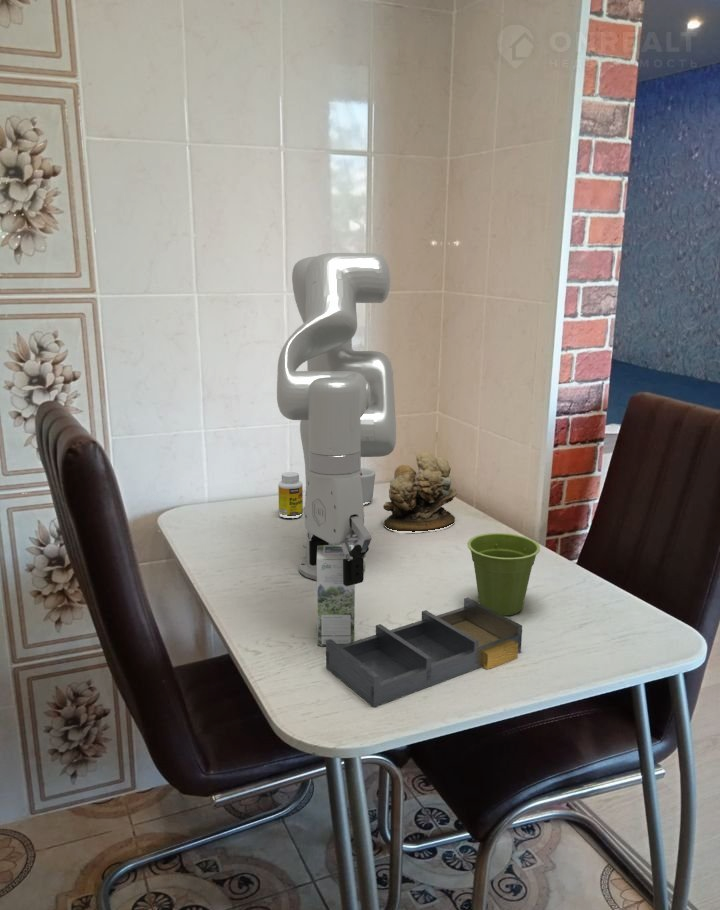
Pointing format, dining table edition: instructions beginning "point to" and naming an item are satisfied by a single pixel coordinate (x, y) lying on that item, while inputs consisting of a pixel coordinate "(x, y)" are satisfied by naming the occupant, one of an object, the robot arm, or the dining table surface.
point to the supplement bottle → (290, 494)
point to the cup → (367, 483)
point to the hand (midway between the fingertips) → (335, 573)
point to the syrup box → (334, 597)
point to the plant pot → (502, 569)
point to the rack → (424, 652)
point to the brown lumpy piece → (420, 496)
